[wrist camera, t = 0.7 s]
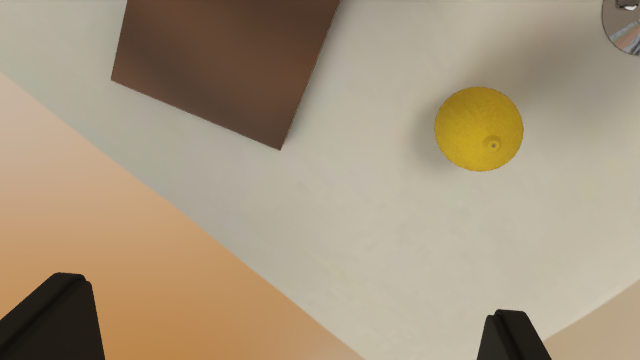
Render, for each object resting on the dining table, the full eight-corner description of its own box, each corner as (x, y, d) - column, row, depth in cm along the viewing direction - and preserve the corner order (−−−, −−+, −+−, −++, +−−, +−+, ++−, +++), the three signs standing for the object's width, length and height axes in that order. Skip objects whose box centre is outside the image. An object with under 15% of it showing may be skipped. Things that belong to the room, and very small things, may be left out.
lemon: (514, 122, 33) (558, 156, 26) (451, 162, 35) (475, 204, 28) (477, 63, 32) (512, 80, 25) (413, 107, 34) (428, 136, 26)
